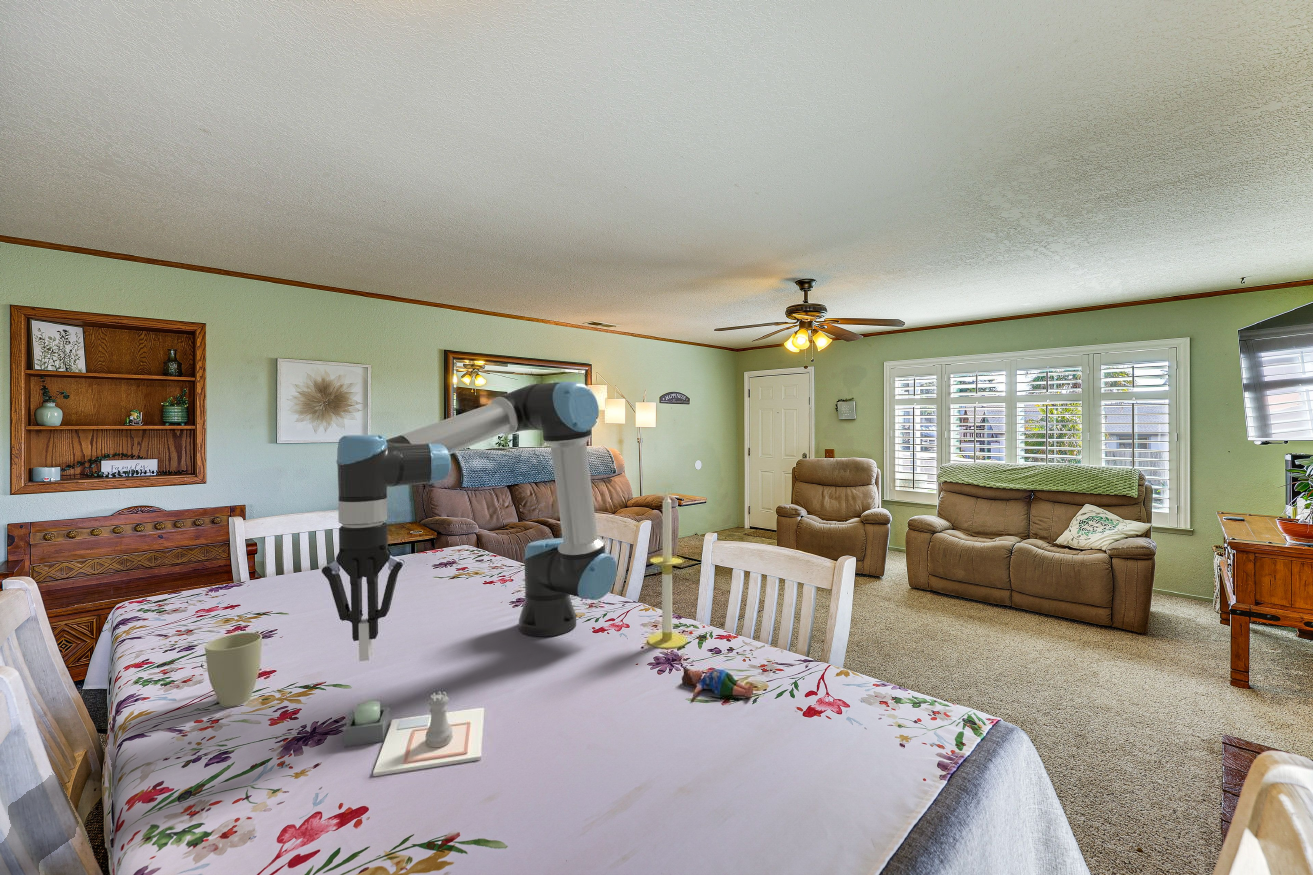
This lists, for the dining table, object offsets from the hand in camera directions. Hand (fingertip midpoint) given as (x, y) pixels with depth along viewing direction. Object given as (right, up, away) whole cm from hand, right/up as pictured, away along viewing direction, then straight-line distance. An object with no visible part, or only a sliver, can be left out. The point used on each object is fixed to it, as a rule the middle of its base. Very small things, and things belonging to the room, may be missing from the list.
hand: (365, 657), depth 99 cm
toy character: (+63, -14, +17) cm, 67 cm away
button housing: (0, -14, +1) cm, 14 cm away
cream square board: (+12, -14, -1) cm, 19 cm away
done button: (0, -12, 0) cm, 12 cm away
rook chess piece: (+14, -13, -3) cm, 20 cm away
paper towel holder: (+54, -12, +42) cm, 69 cm away
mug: (-33, -14, +13) cm, 38 cm away
